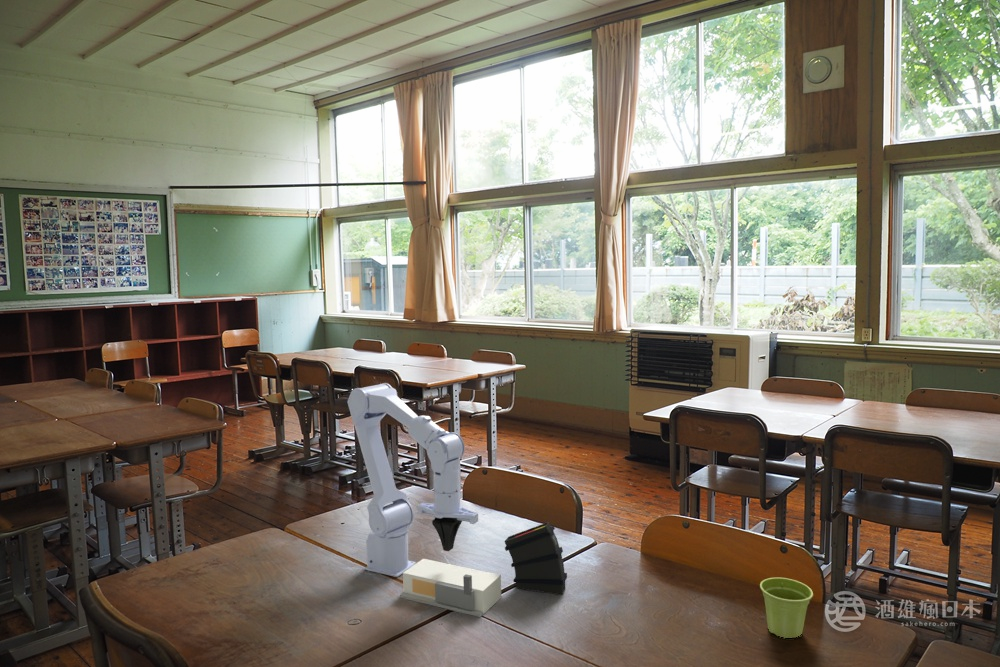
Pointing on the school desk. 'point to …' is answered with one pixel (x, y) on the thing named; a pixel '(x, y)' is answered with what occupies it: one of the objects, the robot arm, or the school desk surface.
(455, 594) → the side door
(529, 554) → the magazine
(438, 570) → the camera housing
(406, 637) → the school desk surface
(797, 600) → the plant pot
